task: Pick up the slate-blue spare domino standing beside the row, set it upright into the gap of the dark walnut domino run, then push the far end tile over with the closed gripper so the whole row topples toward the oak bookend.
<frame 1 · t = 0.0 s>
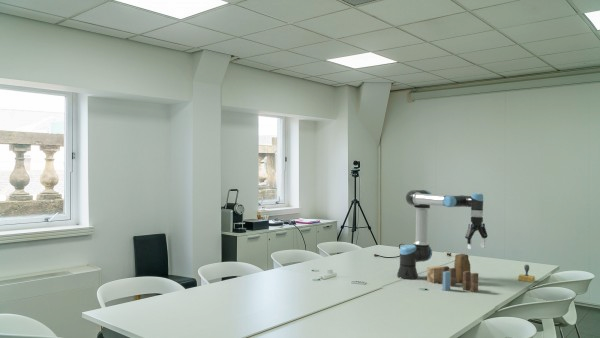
hand: (476, 248, 308), 28 cm above the table, tool pointing down, fingers open, 13 cm apart
domino 2: (466, 289, 309), on the table
domino 4: (452, 285, 319), on the table
end block: (436, 281, 331), on the table
spare domino: (446, 289, 307), on the table
block: (462, 282, 330), on the table
domino 5: (445, 283, 324), on the table
rubber stamp: (526, 281, 340), on the table
domino 1: (474, 291, 304), on the table
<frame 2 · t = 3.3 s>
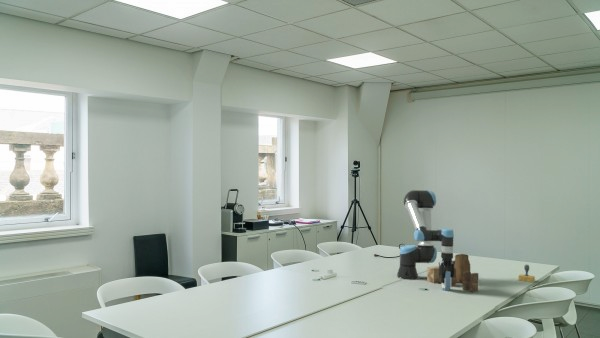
hand: (446, 287, 307), 2 cm above the table, tool pointing down, fingers closed on spare domino, 5 cm apart
spare domino: (446, 289, 307), on the table, touching gripper
everything else where it was.
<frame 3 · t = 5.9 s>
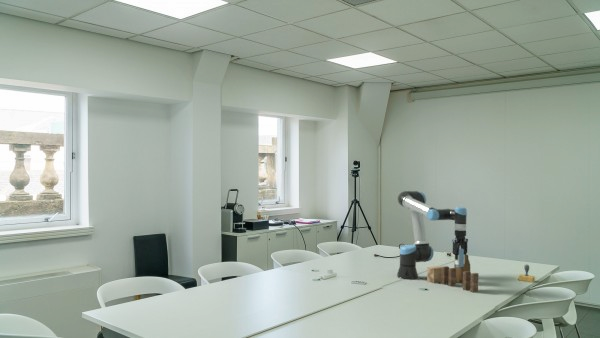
hand: (459, 264, 314), 16 cm above the table, tool pointing down, fingers closed on spare domino, 5 cm apart
spare domino: (459, 266, 314), point 14 cm above the table, touching gripper
everything else where it was.
when the fingers open (3 cm above the table, at t = 8.5 s): spare domino stays where it is, on the table.
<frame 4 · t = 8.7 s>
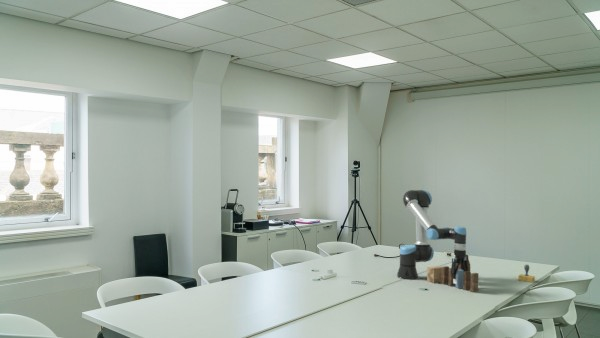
hand: (459, 282, 314), 3 cm above the table, tool pointing down, fingers open, 8 cm apart
spare domino: (459, 287, 314), on the table
everything else where it was.
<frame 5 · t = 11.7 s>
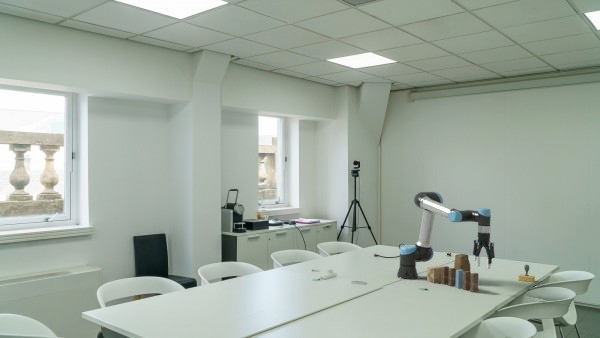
hand: (483, 267, 298), 17 cm above the table, tool pointing down, fingers open, 7 cm apart
nothing on the table moved.
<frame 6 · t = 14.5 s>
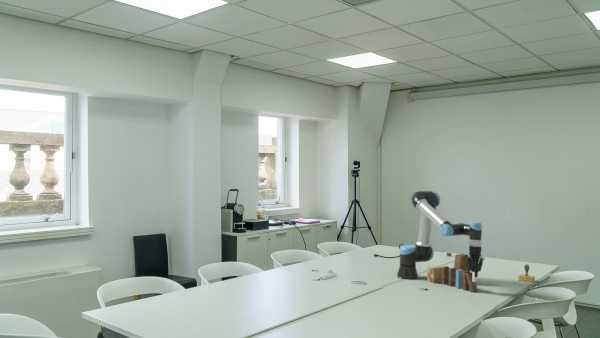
hand: (474, 281, 304), 7 cm above the table, tool pointing down, fingers closed
domino 2: (466, 289, 309), on the table, touching domino 1
domino 1: (474, 291, 304), on the table, tilted 21°, touching domino 2
everything else where it was.
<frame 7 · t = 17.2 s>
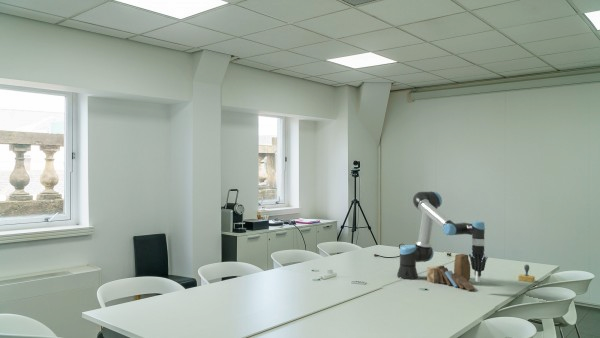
hand: (477, 281, 302), 8 cm above the table, tool pointing down, fingers closed
domino 2: (464, 287, 310), point 1 cm above the table, tilted 55°, touching domino 1, spare domino
domino 4: (451, 284, 319), point 1 cm above the table, tilted 37°, touching domino 5, spare domino
spare domino: (458, 286, 315), point 1 cm above the table, tilted 48°, touching domino 2, domino 4
domino 5: (445, 283, 324), on the table, tilted 22°, touching domino 4, end block
domino 1: (472, 289, 305), point 1 cm above the table, tilted 61°, touching domino 2
everything else where it was.
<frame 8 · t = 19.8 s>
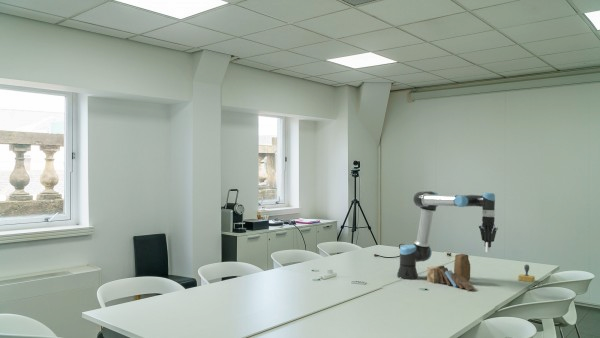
hand: (487, 251, 304), 26 cm above the table, tool pointing down, fingers closed
at the end: domino 5 tilted 22°; spare domino tilted 47°; the gripper is holding nothing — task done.
